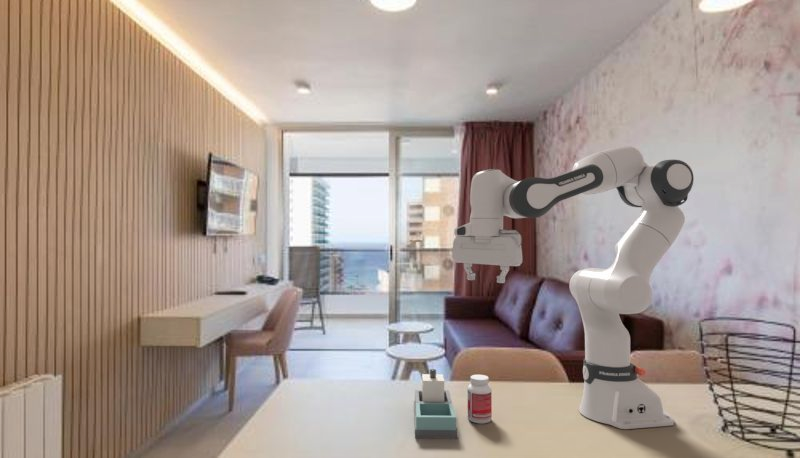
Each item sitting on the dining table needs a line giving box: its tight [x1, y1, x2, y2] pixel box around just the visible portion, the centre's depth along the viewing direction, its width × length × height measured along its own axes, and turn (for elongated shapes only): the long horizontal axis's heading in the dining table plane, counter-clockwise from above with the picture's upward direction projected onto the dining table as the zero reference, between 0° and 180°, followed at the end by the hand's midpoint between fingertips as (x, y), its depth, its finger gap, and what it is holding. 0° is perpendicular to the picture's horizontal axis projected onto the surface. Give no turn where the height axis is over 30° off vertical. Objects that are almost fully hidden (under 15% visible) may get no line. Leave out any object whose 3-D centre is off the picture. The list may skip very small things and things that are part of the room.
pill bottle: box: [467, 374, 493, 425], centre depth 116 cm, size 6×6×11 cm
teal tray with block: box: [413, 368, 458, 439], centre depth 114 cm, size 10×18×12 cm, turn 179°
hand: (485, 281), depth 119 cm, fingers open, 8 cm apart
